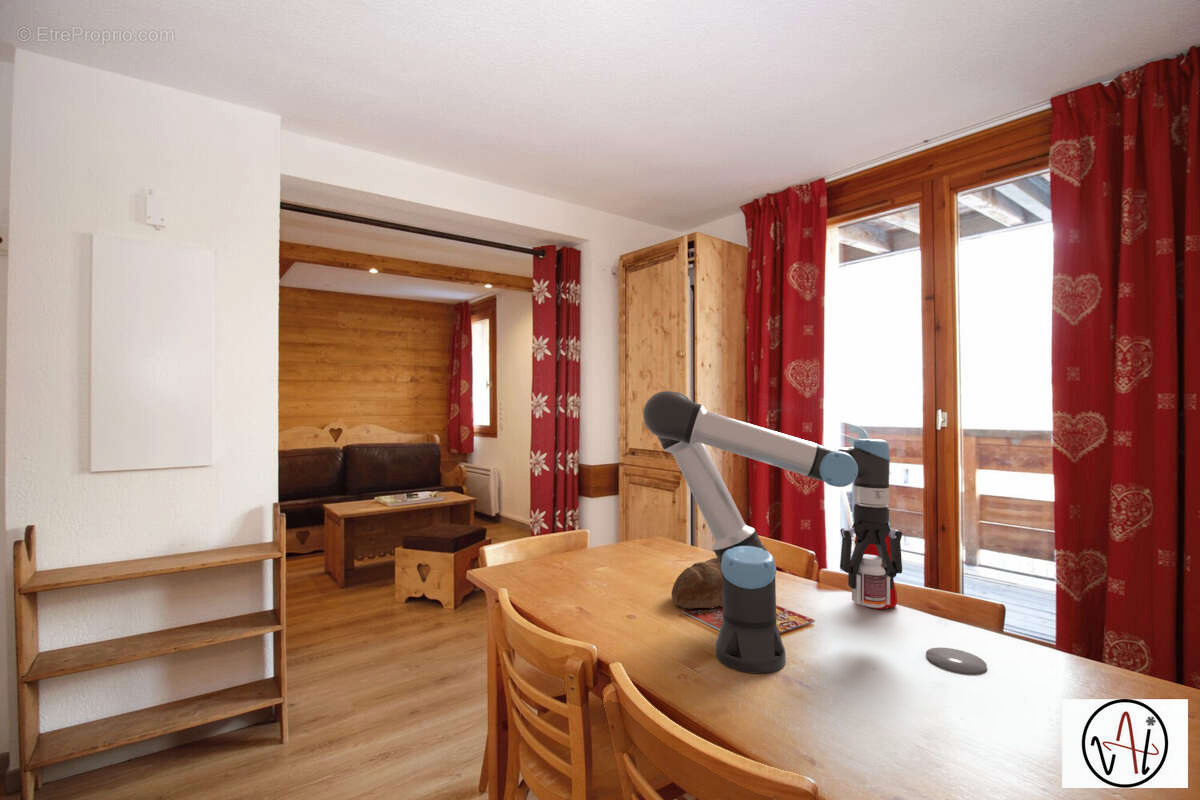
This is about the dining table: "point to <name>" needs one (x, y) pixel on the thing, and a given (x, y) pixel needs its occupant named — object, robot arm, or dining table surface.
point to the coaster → (956, 660)
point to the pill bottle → (872, 582)
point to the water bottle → (873, 551)
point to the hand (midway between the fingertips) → (870, 602)
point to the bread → (699, 586)
